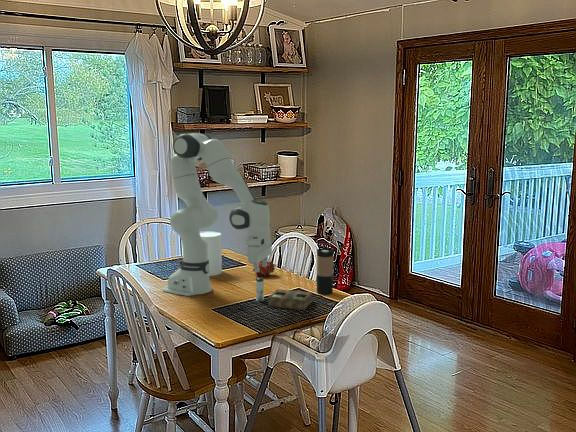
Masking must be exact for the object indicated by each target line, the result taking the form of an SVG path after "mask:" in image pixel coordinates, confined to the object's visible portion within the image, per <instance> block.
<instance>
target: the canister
mask: <svg viewBox="0 0 576 432" xmlns="http://www.w3.org/2000/svg"><path fill="white" fill-rule="evenodd" d="M200 236H201V238H202V239H203V240H205V241H206V242H207V245H208V260H209V277H212V276H218V275H221V274H222V272H223V271H222V270H223V269H222V267H223V263H222V262H223V261H222V233H221V232H218V231H200Z"/></svg>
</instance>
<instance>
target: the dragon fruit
mask: <svg viewBox="0 0 576 432" xmlns="http://www.w3.org/2000/svg"><path fill="white" fill-rule="evenodd" d="M262 263H263V260H261V261H260V262H259V264H258V266H259V270H260V271H259V272H255V271H254V268H253V269H252V272H254V275H256V276H258V277H262V276H264V277H268V276H270V274H273V273H274V272H275V269H276V268H275V267H276V266H275V264H274V263H273V261H268V260H267V266H266V267H262Z"/></svg>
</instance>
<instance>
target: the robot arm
mask: <svg viewBox="0 0 576 432" xmlns="http://www.w3.org/2000/svg"><path fill="white" fill-rule="evenodd" d="M172 150H173V153H174V154H173V155H172V157H170V158H171V159H170V169H171V177H172V180H173V184H174V190H175V195H176V197H178V198H179V199H180V200H182V201H184V203H185V205H186V207H184V208H181V209H178V210H177V211H174V212H173V213H172V214H171V216H170V217H169V219H170V220H169V222H170V223H169V224H170V227H171V229H172V230H173V231H174V232H175V233H176V234H177V235H178V236H179V239H180V240H181V244H182V256H183V258H182V260H181V261H179V262H178V266H180V267H179V268H178V269H177V270H175V271H174V272H173V273H171V275H170V276H169V277H168V280H167V284H166V285H164V286H163V288H162V292H165V293H170V294H176V295H180V296H186V297H191V296H196V295H204V294H207V293H210V292H212V291H213V287H212V284H211V280H210V276H209V260H208V245H207V242H206V241H205V240H203V239H202V238H201V236H200V232H201V230H205V229H209V228H211V227H212V226H214V225H216V223H218V220H219V213H218V210H217V208H216V207H215V206H213V205H211V203H209V202H208V199H207V198H206V197H205V195H204V193H203V191H202V187H201V184H200V181H199V176H198V171H197V168H196V164H197V161H199V162H200V161H202V160H203V162H204V163H205V166H206V169H207V171H208V173H209V175H210V177H211V179H212V180H214V182H216V183H218V184H220V185H224V186H227V187H229V188H230V189H232V190H233V191H234V192H235V193H236V195H237V197H238V200H239V201H240V203H241V204H242V205H241V206H239V207H236V208H234V209H232V210H231V211H230V214H229V222H230V223H229V224H230V225H231V226H232V228H234V229H235V230H245V229H248V230H249V235H248V238H247V239H246V242H245V245H246V246H247V250H246V251H247V252H246V254H247V261H248V263H249V264H250V265H252V266H253V269H254V271H253V272H254V273H256V272H259V271H260V270H259V266H258V264H259V262H260V261H263V263H262V267H266V266H267V261H268V260H269V256H270V255H272V251H273V250H272V249H273V248H272V247H273V246H272V241H271V240H272V239H271V228H270V222H271V216H270V215H271V214H270V207H269V205H268V203H267V202H266V201H265V200H262V199H257V198H255V196H254V194H253V192H252V191H251V188H250V187H249V185H248V184H247V181H246V180H245V179H244V177H243V176H242V174H241V173H240V172H239V171H238V170H237V168H236V166H235V164H234V162H233V161H232V159H231V156H230V154H229V152H228V150H227V148H226V147H225V146H224V143H223V142H222V141H221V140H220V139H218V138H212V137H211V136H210V135H208V134H206V133H200V132H199V133H198V132H191V133H182V134H179V135H177V136H176V137H175V138H174V140H173V143H172Z"/></svg>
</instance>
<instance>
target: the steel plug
mask: <svg viewBox="0 0 576 432" xmlns="http://www.w3.org/2000/svg"><path fill="white" fill-rule="evenodd" d="M264 281H265V280H264V277H262V276H258V277H256V278H255V288H256V289H255V295H256V296H255V301H256V302H257V303H260V302H264V298H265V297H264V294H265V293H264V289H265V288H264V286H265V285H264Z"/></svg>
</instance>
